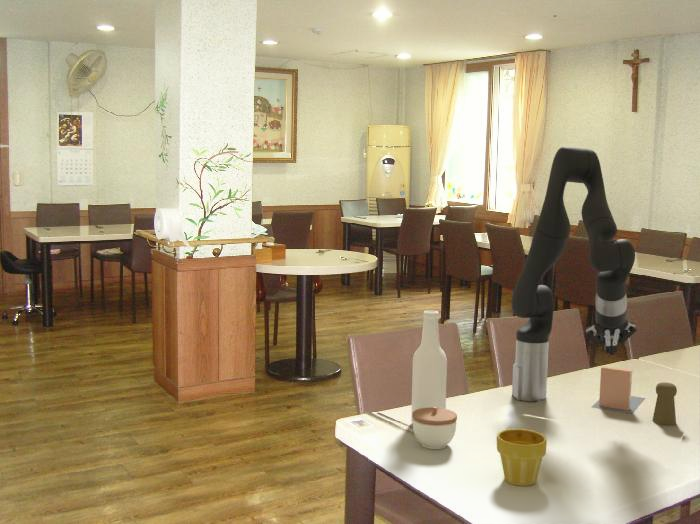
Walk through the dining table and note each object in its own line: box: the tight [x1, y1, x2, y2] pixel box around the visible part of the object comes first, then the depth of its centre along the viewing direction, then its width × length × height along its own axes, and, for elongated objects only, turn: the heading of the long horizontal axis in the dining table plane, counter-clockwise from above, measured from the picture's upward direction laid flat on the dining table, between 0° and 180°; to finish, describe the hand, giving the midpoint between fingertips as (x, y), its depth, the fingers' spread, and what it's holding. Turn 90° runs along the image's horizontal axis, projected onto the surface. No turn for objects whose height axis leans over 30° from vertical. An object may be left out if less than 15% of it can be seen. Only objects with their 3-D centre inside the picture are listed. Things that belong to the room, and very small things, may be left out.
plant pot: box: [496, 428, 548, 487], centre depth 167 cm, size 10×10×10 cm
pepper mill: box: [652, 381, 678, 427], centre depth 206 cm, size 6×6×11 cm
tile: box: [598, 365, 633, 410], centre depth 219 cm, size 2×8×11 cm, turn 58°
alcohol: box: [410, 309, 448, 424], centre depth 202 cm, size 9×9×30 cm
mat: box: [591, 395, 646, 415], centre depth 224 cm, size 18×11×1 cm, turn 148°
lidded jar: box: [411, 407, 458, 450], centre depth 188 cm, size 11×11×9 cm
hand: (610, 352), depth 208 cm, fingers closed
